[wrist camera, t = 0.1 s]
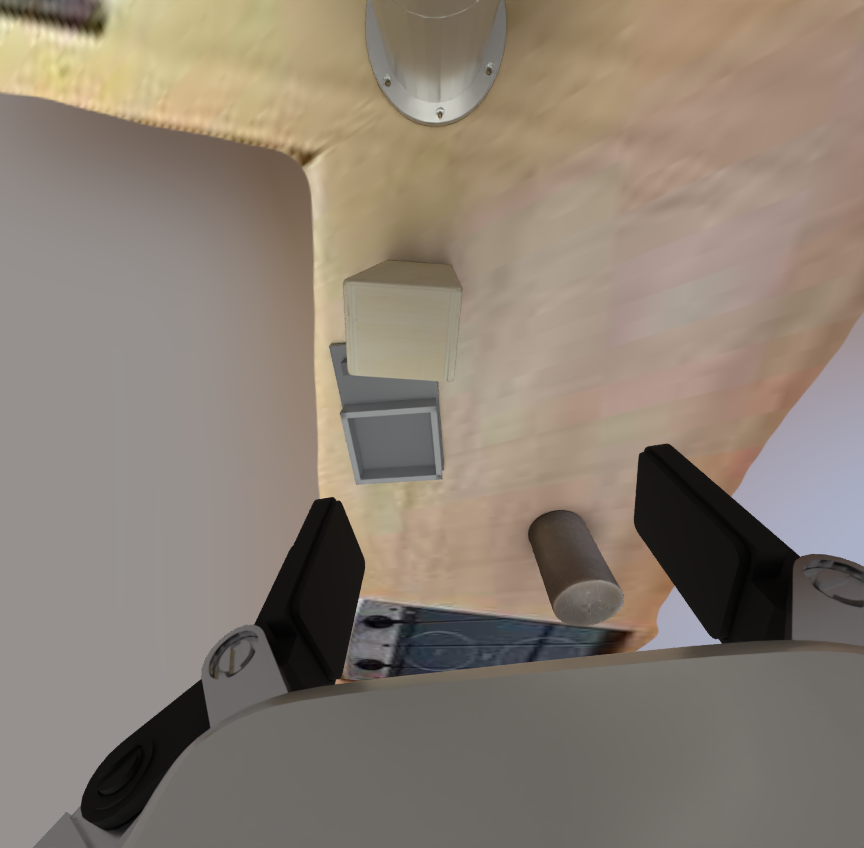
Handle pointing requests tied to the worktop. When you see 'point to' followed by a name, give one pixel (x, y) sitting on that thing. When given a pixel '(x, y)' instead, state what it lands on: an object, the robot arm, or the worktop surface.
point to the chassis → (389, 425)
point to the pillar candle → (574, 570)
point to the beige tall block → (403, 321)
